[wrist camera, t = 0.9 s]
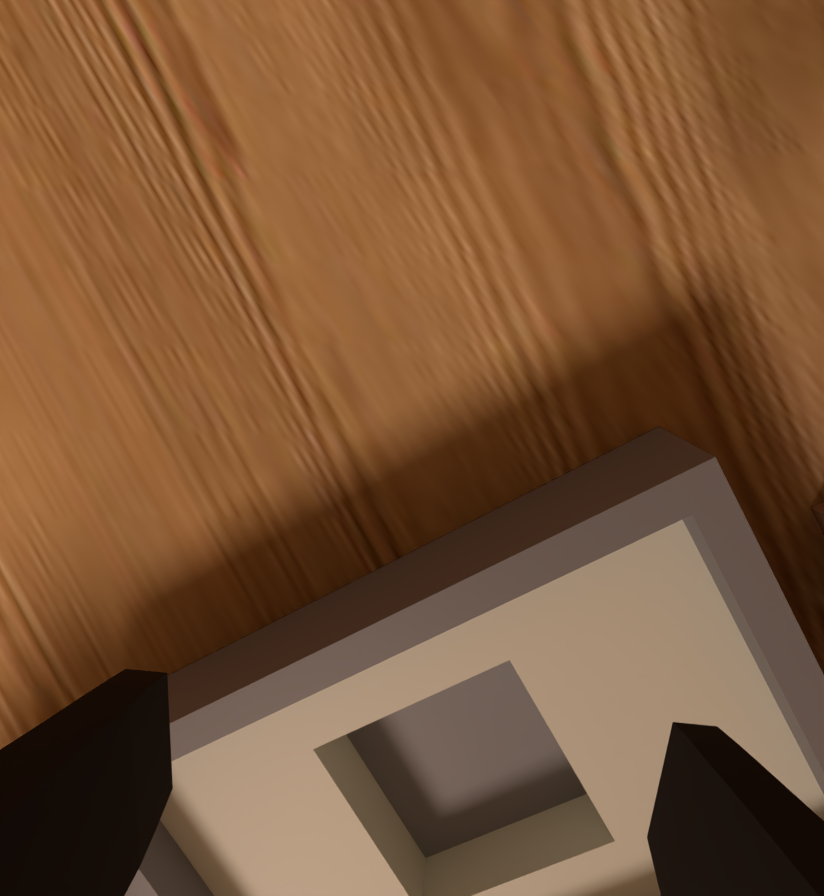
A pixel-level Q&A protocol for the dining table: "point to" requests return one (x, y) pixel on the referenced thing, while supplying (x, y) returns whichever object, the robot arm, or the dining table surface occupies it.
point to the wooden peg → (819, 514)
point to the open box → (493, 701)
